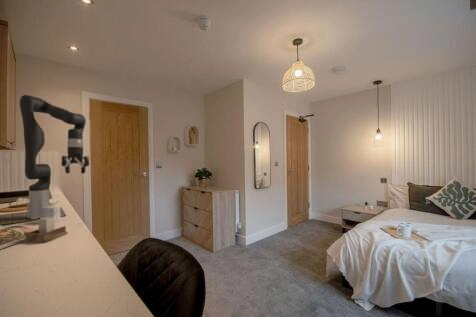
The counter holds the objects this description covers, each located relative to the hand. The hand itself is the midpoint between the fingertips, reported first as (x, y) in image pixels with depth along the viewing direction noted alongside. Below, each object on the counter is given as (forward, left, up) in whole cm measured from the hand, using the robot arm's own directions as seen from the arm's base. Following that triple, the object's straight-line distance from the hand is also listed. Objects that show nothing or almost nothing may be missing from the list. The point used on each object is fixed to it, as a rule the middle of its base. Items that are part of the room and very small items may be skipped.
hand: (75, 173), depth 130 cm
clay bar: (+5, -29, -27) cm, 40 cm away
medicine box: (-11, -4, -28) cm, 31 cm away
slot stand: (+5, -29, -28) cm, 41 cm away
